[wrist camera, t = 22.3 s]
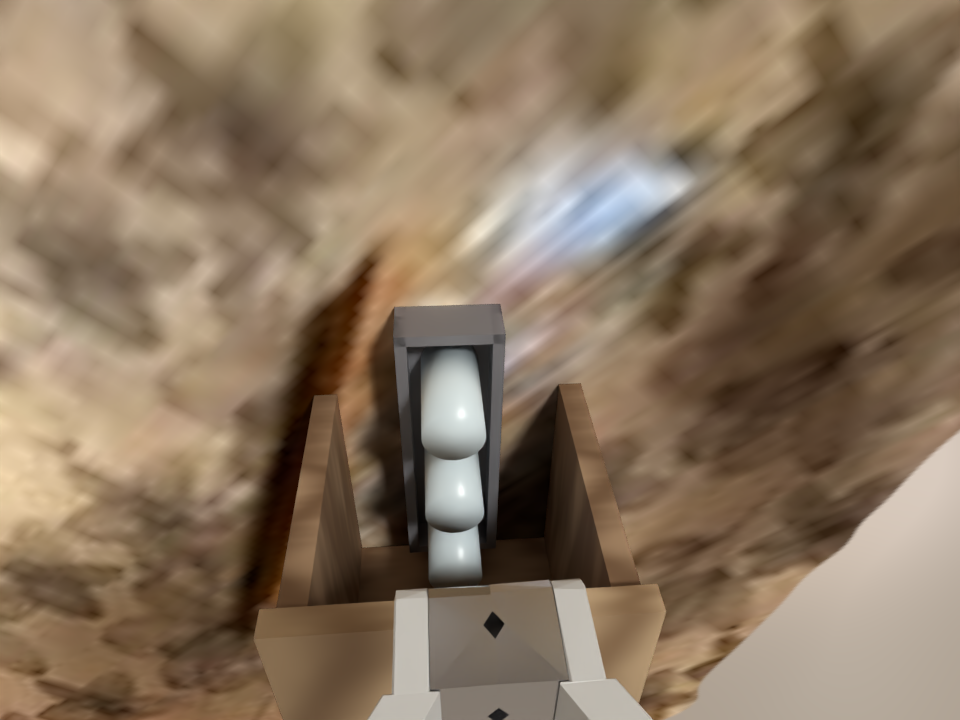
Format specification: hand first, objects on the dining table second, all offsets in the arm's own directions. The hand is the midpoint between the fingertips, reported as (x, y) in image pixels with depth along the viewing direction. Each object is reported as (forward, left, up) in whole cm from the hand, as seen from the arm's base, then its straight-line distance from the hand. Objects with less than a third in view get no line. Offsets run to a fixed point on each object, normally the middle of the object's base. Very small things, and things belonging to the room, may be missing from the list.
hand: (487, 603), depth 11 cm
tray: (0, +23, -29) cm, 37 cm away
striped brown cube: (0, +29, -29) cm, 41 cm away
